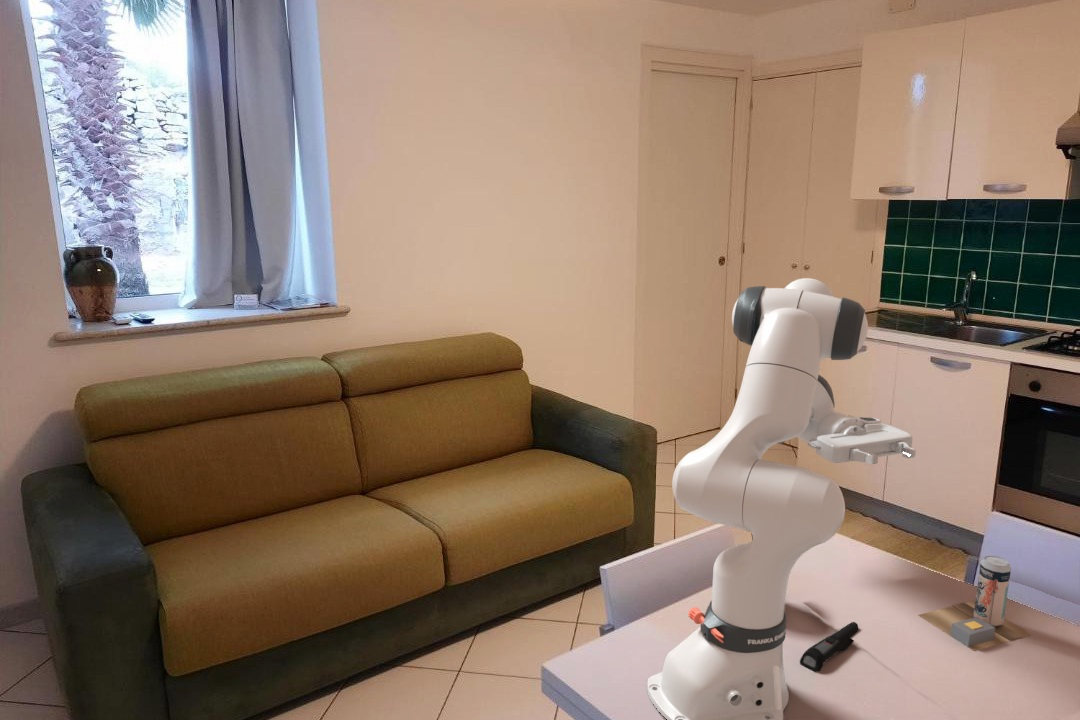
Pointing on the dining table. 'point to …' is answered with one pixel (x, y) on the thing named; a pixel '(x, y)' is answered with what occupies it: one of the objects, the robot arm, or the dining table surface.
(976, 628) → the grey box with label
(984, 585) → the beer can
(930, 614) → the subfloor panel
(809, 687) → the dining table surface
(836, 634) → the electric trimmer
